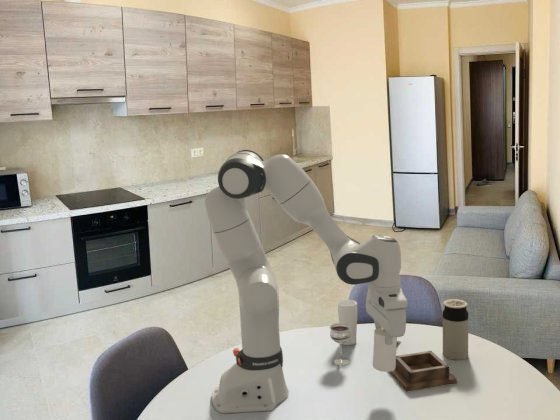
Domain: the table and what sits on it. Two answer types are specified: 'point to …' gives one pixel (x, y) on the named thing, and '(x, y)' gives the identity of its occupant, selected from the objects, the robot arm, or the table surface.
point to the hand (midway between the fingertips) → (383, 339)
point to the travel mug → (455, 329)
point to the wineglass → (340, 339)
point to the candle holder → (422, 371)
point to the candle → (384, 352)
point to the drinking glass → (348, 318)
